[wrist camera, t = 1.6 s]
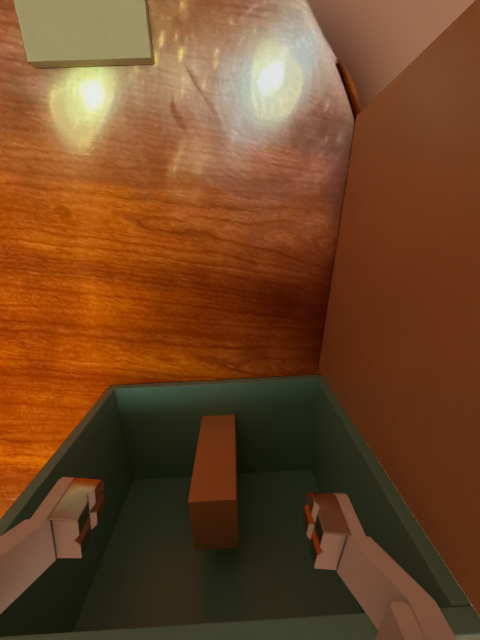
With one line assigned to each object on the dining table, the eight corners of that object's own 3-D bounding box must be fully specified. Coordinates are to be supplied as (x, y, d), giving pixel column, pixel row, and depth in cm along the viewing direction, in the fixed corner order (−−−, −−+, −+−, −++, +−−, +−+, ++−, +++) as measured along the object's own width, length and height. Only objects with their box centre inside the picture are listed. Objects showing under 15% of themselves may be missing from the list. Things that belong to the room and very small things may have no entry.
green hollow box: (109, 385, 35) (-129, 675, 12) (321, 374, 35) (491, 633, 12) (130, 478, 39) (-10, 813, 17) (316, 468, 40) (429, 780, 17)
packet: (235, 414, 35) (236, 499, 24) (237, 452, 37) (239, 547, 26) (202, 416, 35) (187, 502, 24) (206, 454, 37) (194, 550, 26)
